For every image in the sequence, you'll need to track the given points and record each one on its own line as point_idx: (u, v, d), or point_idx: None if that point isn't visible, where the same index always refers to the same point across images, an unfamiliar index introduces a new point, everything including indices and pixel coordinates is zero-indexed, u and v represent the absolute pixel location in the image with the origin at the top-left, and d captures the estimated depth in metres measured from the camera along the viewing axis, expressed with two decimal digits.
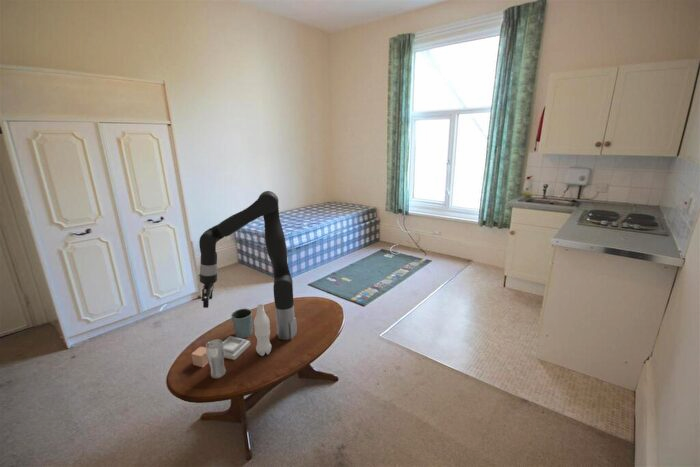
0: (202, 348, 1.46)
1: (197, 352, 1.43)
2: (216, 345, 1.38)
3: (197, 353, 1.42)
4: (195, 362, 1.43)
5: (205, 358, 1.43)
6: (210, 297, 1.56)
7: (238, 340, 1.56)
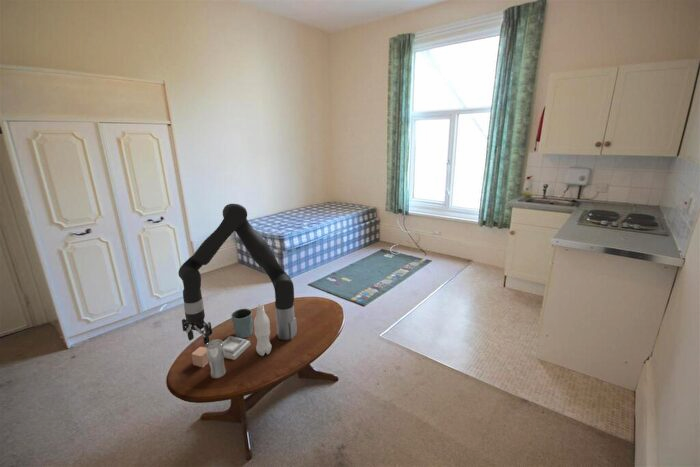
0: (202, 348, 1.45)
1: (197, 352, 1.43)
2: (216, 345, 1.38)
3: (197, 353, 1.42)
4: (195, 362, 1.43)
5: (205, 358, 1.43)
6: (192, 337, 1.44)
7: (238, 340, 1.56)
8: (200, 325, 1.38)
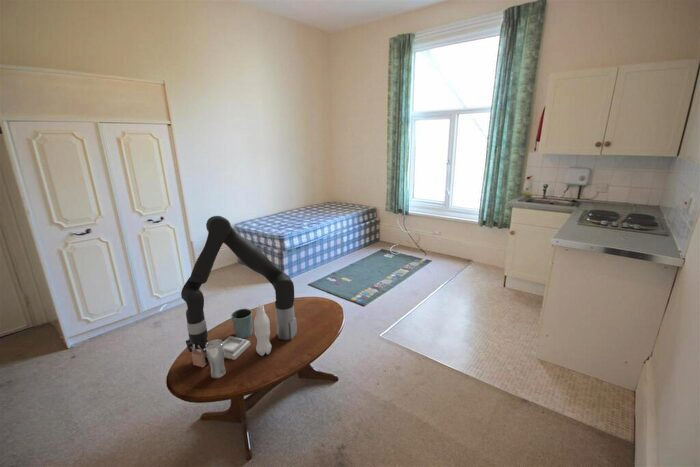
0: None
1: (197, 352, 1.43)
2: (216, 345, 1.38)
3: (197, 353, 1.42)
4: (195, 362, 1.43)
5: None
6: None
7: (238, 340, 1.56)
8: (203, 346, 1.40)
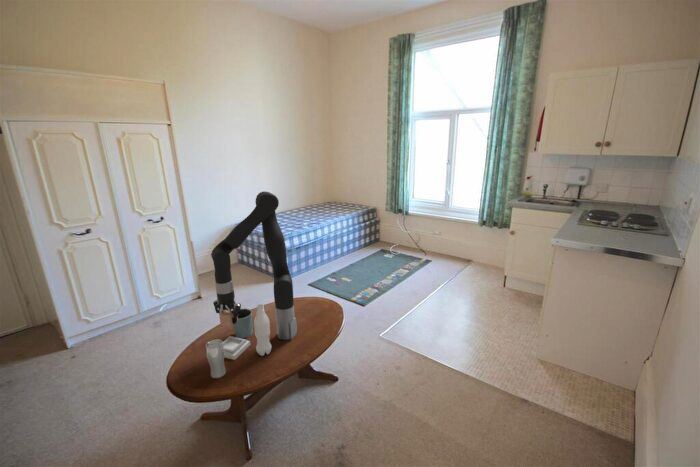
0: None
1: (225, 312, 1.47)
2: (216, 345, 1.38)
3: (225, 313, 1.47)
4: (222, 323, 1.47)
5: None
6: None
7: (238, 340, 1.56)
8: (231, 306, 1.45)
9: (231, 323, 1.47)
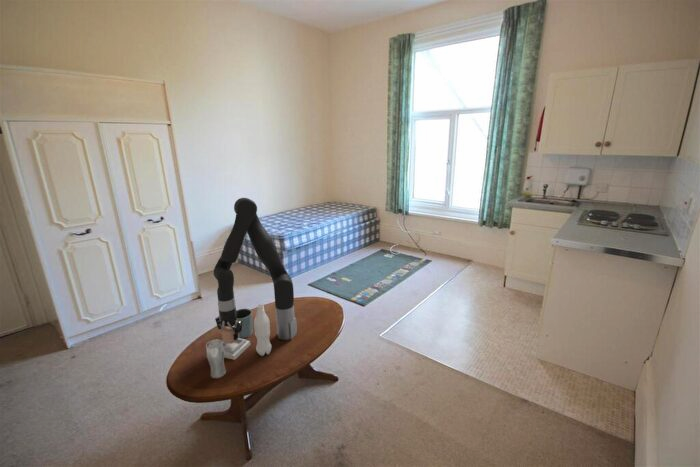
0: None
1: (226, 329, 1.50)
2: (216, 345, 1.38)
3: (226, 330, 1.49)
4: (224, 339, 1.50)
5: None
6: None
7: (238, 340, 1.56)
8: (233, 323, 1.48)
9: (232, 339, 1.50)
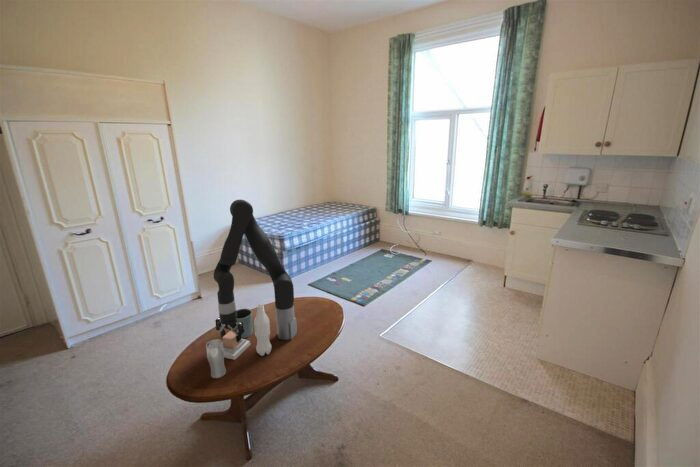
0: (231, 332, 1.54)
1: (227, 336, 1.51)
2: (216, 345, 1.38)
3: (227, 337, 1.50)
4: (225, 346, 1.51)
5: (235, 341, 1.51)
6: (224, 335, 1.54)
7: None
8: (233, 324, 1.48)
9: (234, 346, 1.51)
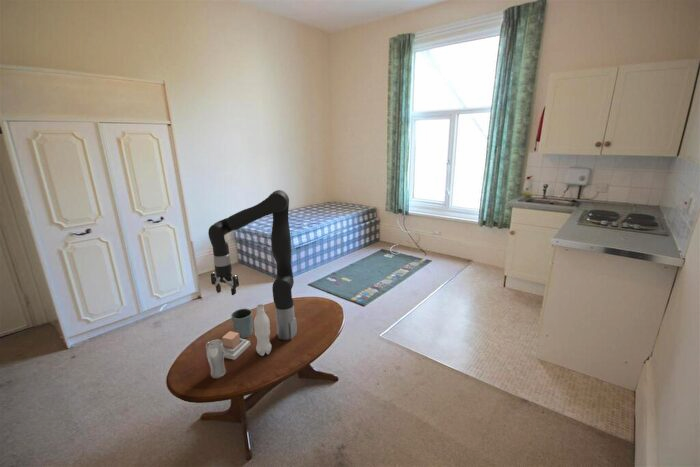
0: (231, 332, 1.54)
1: (227, 336, 1.51)
2: (216, 345, 1.38)
3: (227, 337, 1.50)
4: (225, 346, 1.51)
5: (235, 341, 1.51)
6: (220, 290, 1.58)
7: None
8: (228, 277, 1.53)
9: (234, 346, 1.51)
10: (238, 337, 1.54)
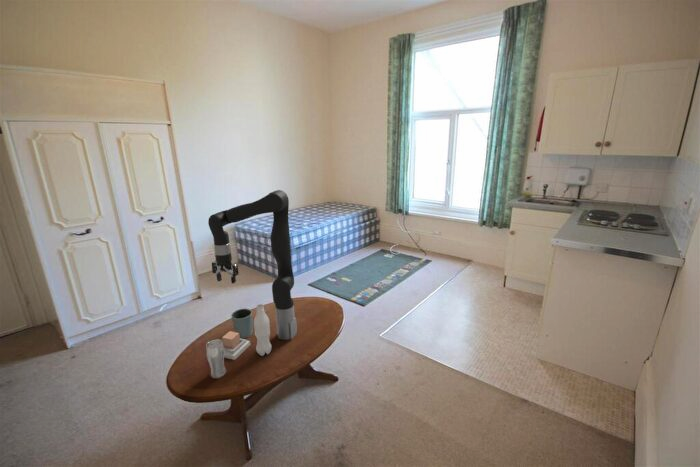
0: (231, 332, 1.54)
1: (227, 336, 1.51)
2: (216, 345, 1.38)
3: (227, 337, 1.50)
4: (225, 346, 1.51)
5: (235, 341, 1.51)
6: (220, 278, 1.63)
7: None
8: (228, 266, 1.58)
9: (234, 346, 1.51)
10: (238, 337, 1.54)
